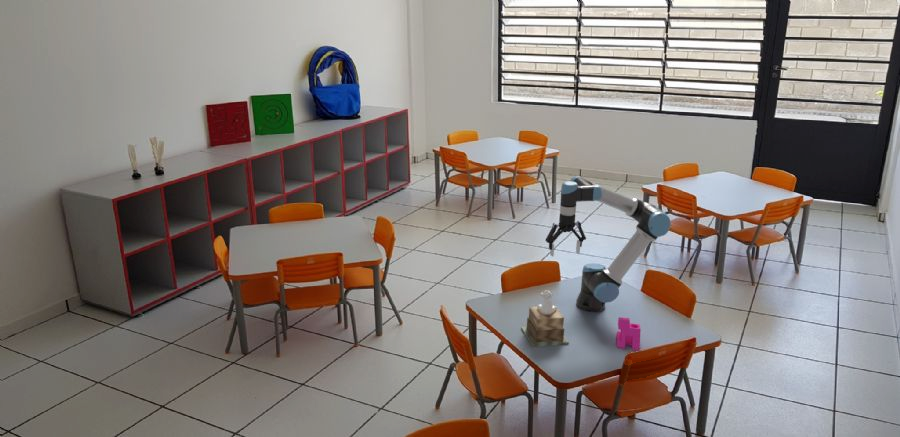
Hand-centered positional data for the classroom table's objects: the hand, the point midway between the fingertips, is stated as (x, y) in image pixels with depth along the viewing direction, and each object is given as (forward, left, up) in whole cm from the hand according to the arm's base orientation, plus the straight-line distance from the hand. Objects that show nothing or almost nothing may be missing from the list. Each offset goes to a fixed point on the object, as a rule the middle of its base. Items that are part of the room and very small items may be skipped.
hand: (564, 254), depth 351 cm
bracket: (-25, +27, -37) cm, 52 cm away
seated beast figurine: (+13, +15, -23) cm, 31 cm away
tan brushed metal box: (+13, +15, -36) cm, 41 cm away
